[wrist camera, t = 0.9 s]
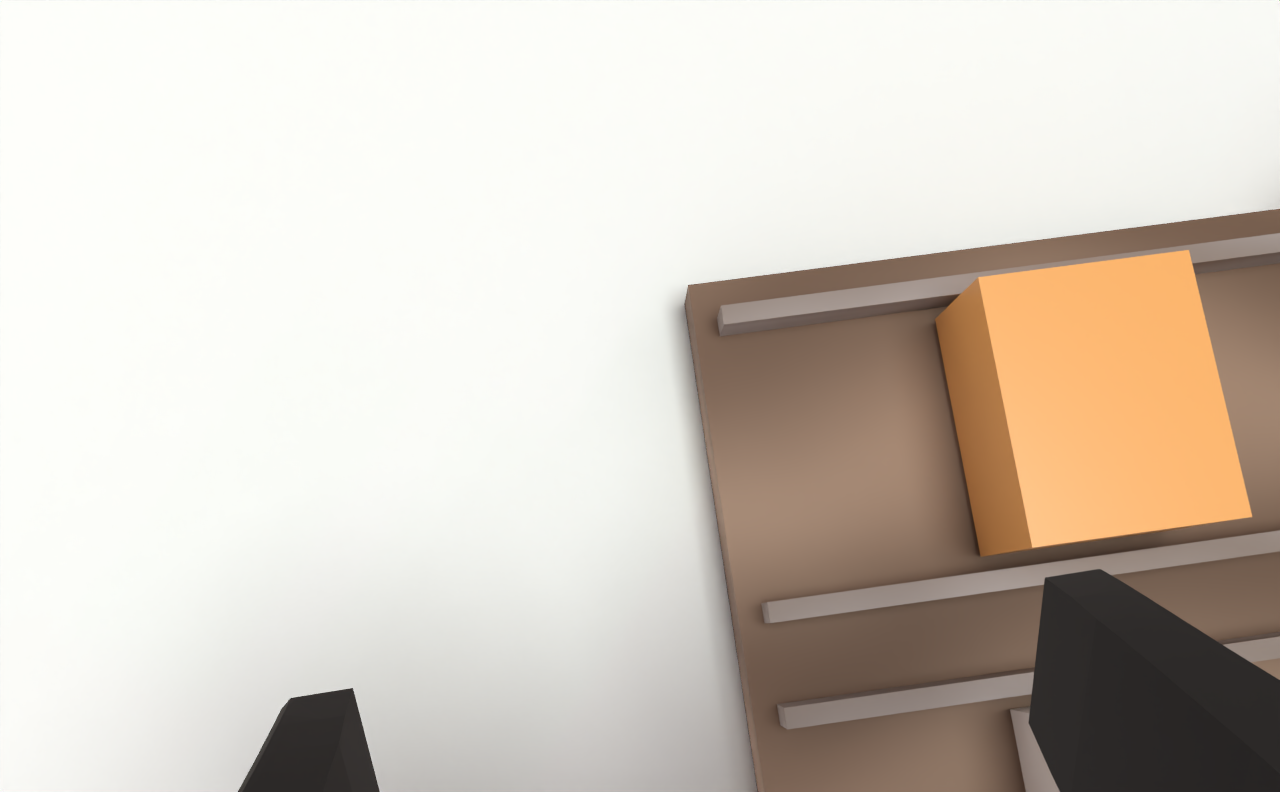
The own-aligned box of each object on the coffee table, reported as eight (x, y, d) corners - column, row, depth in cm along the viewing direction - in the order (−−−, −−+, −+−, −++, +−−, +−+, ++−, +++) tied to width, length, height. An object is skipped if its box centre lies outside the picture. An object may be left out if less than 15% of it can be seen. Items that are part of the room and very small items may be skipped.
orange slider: (1173, 529, 23) (1252, 517, 21) (981, 557, 23) (1032, 547, 20) (1120, 294, 24) (1188, 249, 21) (935, 318, 24) (977, 277, 21)
